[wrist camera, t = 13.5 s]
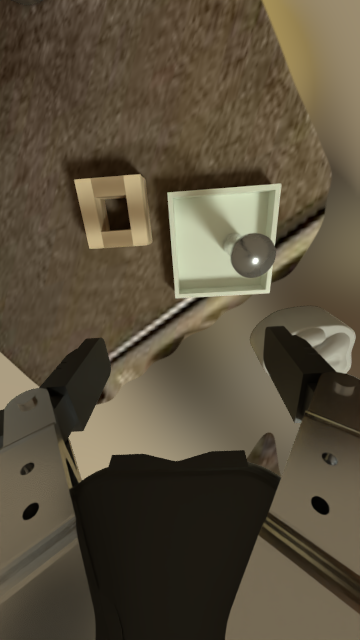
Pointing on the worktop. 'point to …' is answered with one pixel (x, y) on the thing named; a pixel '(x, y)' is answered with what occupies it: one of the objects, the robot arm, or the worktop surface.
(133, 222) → the frame
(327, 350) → the lumpy-topped squat cylinder
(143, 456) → the robot arm
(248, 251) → the pin
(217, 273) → the parts tray
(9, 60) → the worktop surface
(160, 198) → the worktop surface
